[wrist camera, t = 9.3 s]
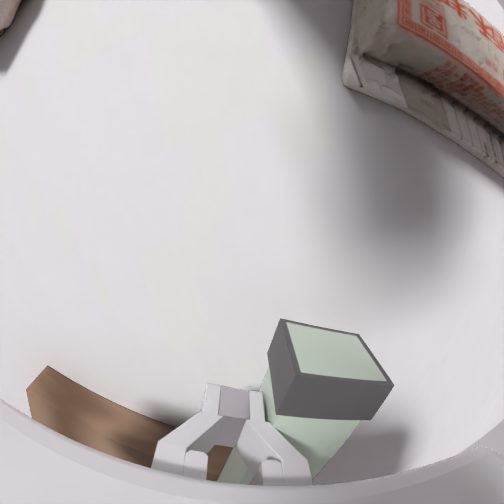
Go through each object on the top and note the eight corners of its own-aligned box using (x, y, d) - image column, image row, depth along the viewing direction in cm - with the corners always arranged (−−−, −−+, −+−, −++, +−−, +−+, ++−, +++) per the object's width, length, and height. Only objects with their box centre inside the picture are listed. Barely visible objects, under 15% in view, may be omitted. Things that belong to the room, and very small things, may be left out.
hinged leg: (250, 503, 14) (251, 538, 11) (204, 498, 14) (201, 534, 10) (358, 334, 10) (394, 384, 7) (280, 318, 10) (295, 375, 7)
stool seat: (61, 466, 18) (53, 483, 15) (47, 365, 14) (26, 389, 11) (210, 519, 20) (209, 539, 17) (285, 454, 16) (289, 485, 13)
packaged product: (376, 52, 7) (378, -70, 4) (334, 91, 11) (352, -28, 9) (571, 211, 8) (566, 90, 6) (528, 201, 13) (529, 95, 11)
